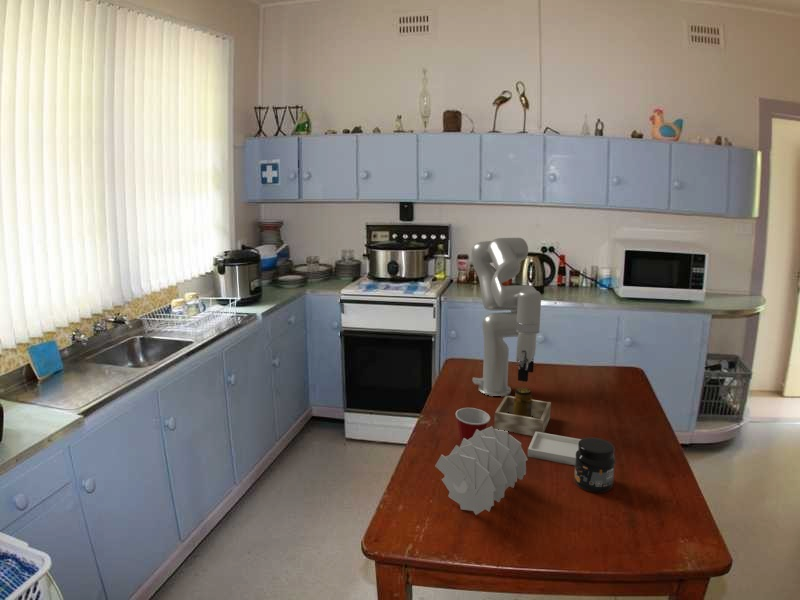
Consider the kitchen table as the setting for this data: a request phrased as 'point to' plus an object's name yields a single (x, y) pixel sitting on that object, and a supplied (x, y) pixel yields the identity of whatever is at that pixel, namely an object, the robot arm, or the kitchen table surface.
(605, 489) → the supplement container
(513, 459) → the spiral staircase
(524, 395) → the condiment
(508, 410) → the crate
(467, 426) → the plastic cup
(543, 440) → the tray
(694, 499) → the kitchen table surface
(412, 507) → the kitchen table surface
